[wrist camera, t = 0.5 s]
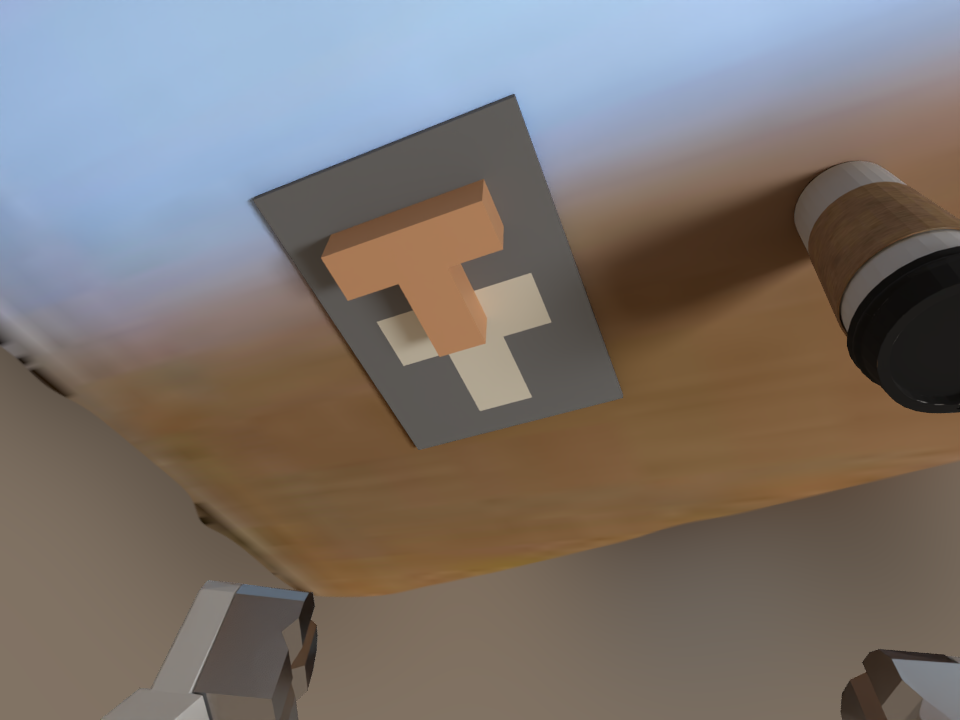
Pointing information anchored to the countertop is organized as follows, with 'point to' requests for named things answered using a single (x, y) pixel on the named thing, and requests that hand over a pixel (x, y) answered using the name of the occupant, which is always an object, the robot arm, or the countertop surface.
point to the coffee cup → (889, 280)
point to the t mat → (494, 277)
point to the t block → (424, 261)
